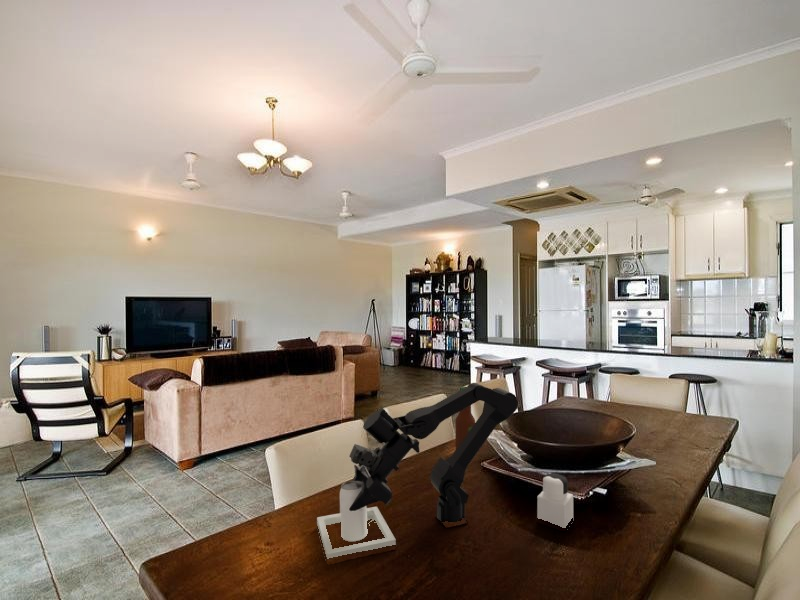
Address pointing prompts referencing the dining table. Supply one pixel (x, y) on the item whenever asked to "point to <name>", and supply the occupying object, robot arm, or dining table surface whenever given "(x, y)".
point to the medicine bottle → (555, 501)
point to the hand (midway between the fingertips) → (348, 504)
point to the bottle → (463, 423)
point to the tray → (365, 546)
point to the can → (352, 513)
